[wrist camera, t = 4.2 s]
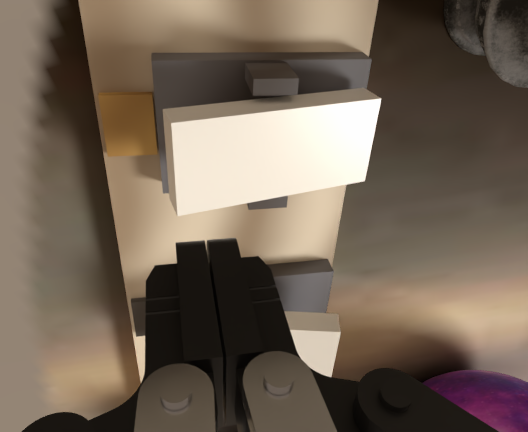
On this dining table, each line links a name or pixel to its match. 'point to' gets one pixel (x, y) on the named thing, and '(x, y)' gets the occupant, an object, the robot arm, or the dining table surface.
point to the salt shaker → (492, 34)
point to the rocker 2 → (315, 338)
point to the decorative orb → (486, 397)
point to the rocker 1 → (267, 147)
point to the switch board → (210, 92)
